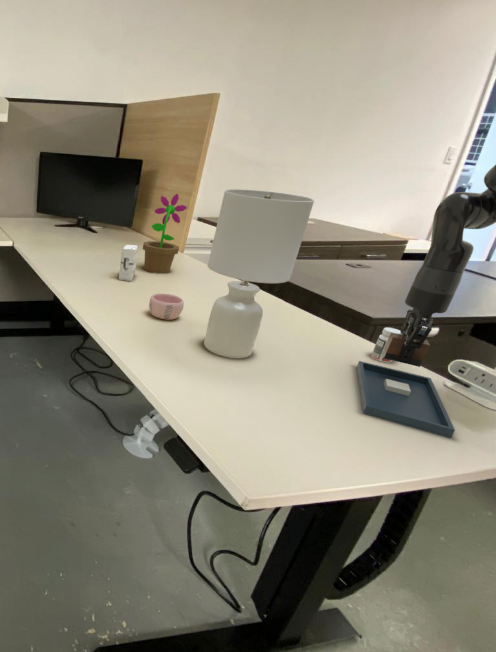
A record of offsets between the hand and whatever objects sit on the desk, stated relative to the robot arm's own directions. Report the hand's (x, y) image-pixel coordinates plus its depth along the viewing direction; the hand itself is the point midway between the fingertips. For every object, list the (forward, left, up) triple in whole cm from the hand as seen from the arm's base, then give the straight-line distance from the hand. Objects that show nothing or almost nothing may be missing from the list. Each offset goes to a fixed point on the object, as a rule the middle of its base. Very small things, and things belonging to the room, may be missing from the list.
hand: (401, 357), depth 109 cm
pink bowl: (+58, -7, -7) cm, 59 cm away
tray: (0, +10, -7) cm, 12 cm away
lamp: (+37, +7, -7) cm, 38 cm away
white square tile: (0, +6, -6) cm, 8 cm away
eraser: (0, 0, -1) cm, 1 cm away
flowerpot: (+75, -58, -7) cm, 95 cm away
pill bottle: (+1, -14, -7) cm, 16 cm away
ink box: (+81, -38, -7) cm, 90 cm away
